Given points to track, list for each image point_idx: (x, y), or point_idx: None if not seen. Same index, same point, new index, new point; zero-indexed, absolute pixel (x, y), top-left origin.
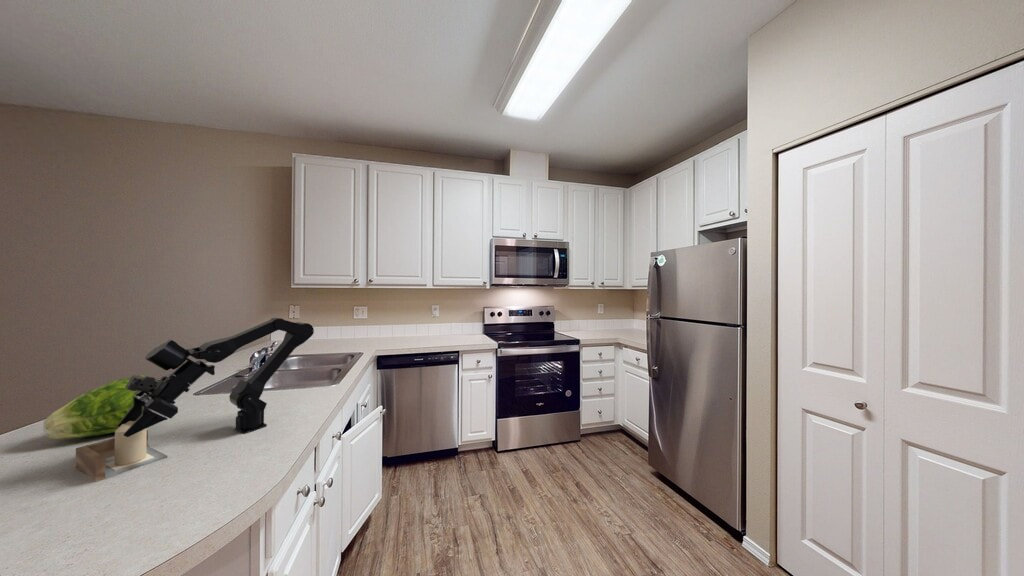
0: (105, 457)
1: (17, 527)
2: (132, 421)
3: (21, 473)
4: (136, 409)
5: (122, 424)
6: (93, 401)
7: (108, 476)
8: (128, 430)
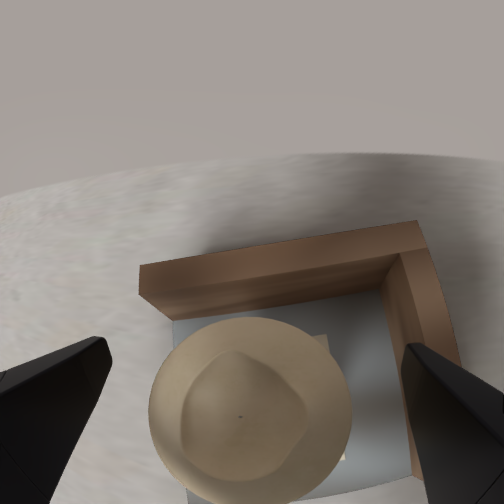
0: (392, 338)
1: (82, 185)
2: (298, 435)
3: (449, 172)
4: (482, 480)
5: (227, 349)
6: None
7: (173, 330)
8: (61, 349)
